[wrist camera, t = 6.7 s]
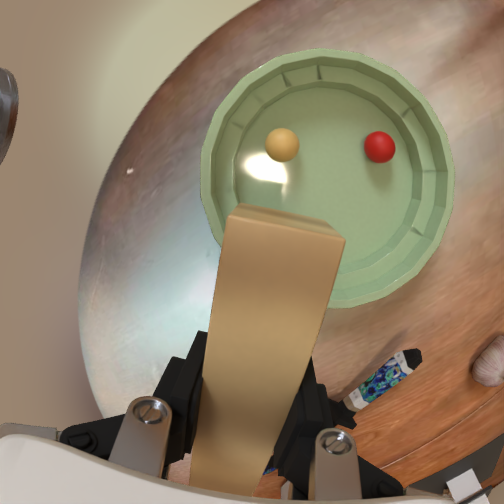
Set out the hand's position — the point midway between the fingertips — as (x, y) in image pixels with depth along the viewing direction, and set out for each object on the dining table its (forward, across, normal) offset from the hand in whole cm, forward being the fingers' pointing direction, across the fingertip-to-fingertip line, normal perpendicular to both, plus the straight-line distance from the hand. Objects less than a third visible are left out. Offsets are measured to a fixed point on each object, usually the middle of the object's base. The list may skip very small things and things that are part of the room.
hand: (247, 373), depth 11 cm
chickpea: (+17, 0, -10) cm, 19 cm away
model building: (+18, -55, +43) cm, 72 cm away
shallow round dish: (+17, -4, -8) cm, 20 cm away
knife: (+18, -11, +19) cm, 28 cm away
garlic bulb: (+18, -34, +7) cm, 39 cm away
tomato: (+17, -8, -12) cm, 22 cm away
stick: (0, 0, 0) cm, 0 cm away
